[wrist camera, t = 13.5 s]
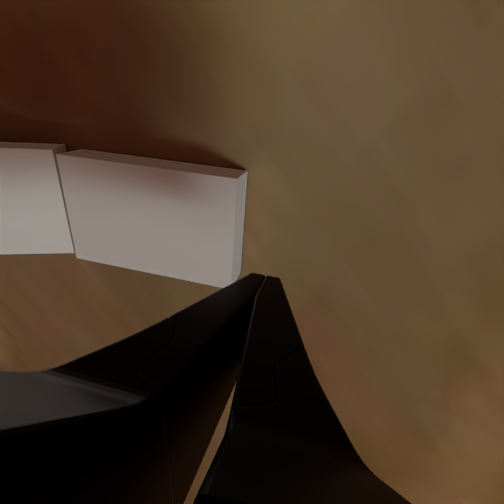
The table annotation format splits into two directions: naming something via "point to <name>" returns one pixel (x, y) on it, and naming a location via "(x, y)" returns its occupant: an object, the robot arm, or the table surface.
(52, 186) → the domino
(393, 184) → the table surface
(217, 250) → the domino
